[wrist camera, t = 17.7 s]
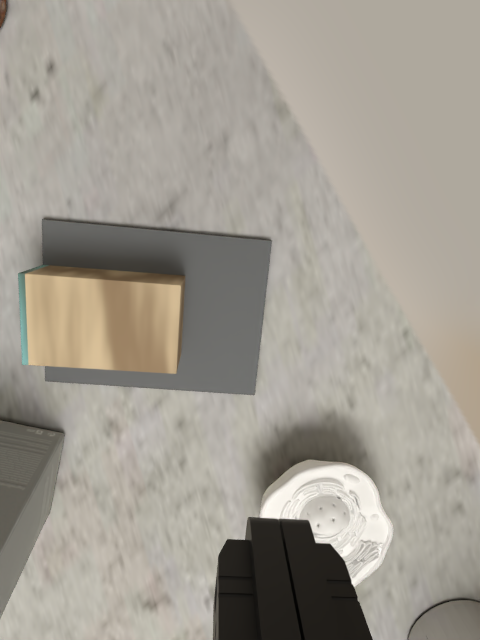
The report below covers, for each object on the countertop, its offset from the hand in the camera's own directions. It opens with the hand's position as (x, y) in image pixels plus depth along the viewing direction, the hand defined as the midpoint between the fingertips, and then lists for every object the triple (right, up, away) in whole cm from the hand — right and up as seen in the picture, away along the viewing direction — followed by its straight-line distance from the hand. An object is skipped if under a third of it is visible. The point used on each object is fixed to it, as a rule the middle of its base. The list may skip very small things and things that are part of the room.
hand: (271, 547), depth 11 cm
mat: (-7, +6, +21) cm, 23 cm away
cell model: (+5, -9, +26) cm, 29 cm away
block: (-5, +5, +19) cm, 21 cm away
